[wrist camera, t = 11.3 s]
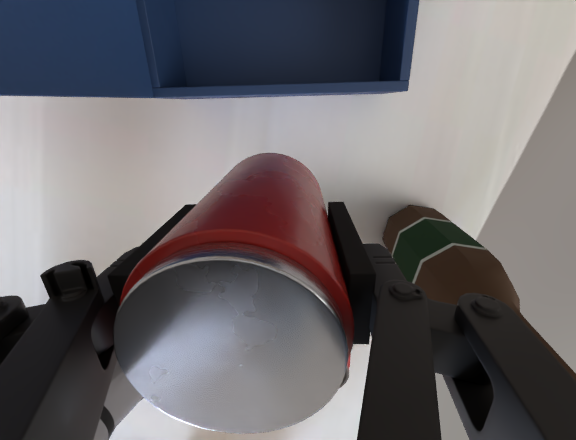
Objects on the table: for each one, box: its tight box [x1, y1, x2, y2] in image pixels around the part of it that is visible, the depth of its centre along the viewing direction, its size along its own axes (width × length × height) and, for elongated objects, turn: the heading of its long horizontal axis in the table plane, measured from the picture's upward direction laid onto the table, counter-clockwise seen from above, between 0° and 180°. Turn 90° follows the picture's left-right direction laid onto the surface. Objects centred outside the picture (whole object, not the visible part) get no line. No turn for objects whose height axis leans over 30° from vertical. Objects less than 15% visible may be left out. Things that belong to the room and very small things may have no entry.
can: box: [113, 153, 354, 434], centre depth 13 cm, size 7×7×12 cm
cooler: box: [136, 0, 419, 99], centre depth 25 cm, size 22×14×7 cm, turn 91°
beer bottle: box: [383, 205, 576, 380], centre depth 25 cm, size 8×8×24 cm
